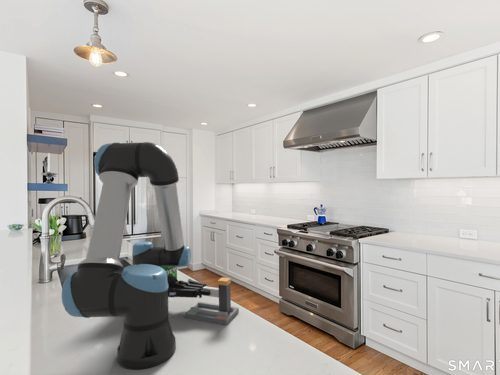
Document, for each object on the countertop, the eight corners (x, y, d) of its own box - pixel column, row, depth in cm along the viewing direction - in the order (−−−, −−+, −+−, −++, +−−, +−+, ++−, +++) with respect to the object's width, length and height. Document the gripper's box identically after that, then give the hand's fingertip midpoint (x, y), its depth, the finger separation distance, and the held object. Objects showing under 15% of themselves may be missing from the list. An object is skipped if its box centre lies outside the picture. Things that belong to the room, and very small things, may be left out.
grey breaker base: (226, 324, 95) (226, 316, 94) (184, 317, 100) (184, 309, 100) (238, 312, 104) (238, 304, 104) (199, 306, 110) (199, 298, 110)
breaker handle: (227, 314, 98) (226, 281, 98) (218, 313, 99) (217, 280, 99) (231, 310, 101) (230, 278, 101) (222, 309, 102) (222, 277, 102)
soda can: (157, 283, 136) (156, 257, 136) (168, 278, 142) (168, 254, 142) (169, 285, 132) (168, 259, 132) (180, 280, 139) (179, 255, 139)
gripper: (174, 289, 116) (228, 296, 107) (152, 302, 103) (211, 311, 95) (174, 270, 116) (227, 276, 107) (152, 281, 103) (210, 288, 95)
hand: (219, 292), depth 101 cm, fingers closed
